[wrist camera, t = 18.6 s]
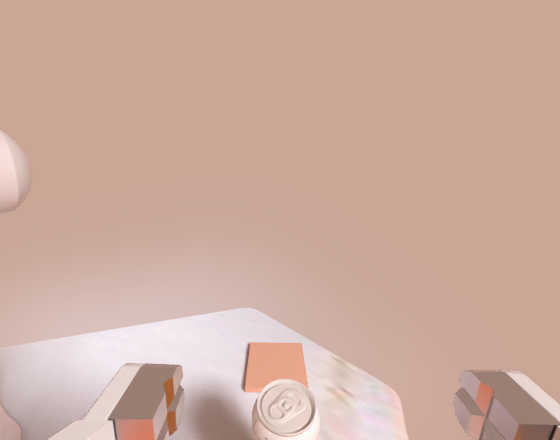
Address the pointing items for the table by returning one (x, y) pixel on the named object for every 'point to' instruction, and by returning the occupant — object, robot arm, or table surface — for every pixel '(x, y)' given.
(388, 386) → the table surface
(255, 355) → the tile
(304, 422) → the beer can
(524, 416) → the robot arm
